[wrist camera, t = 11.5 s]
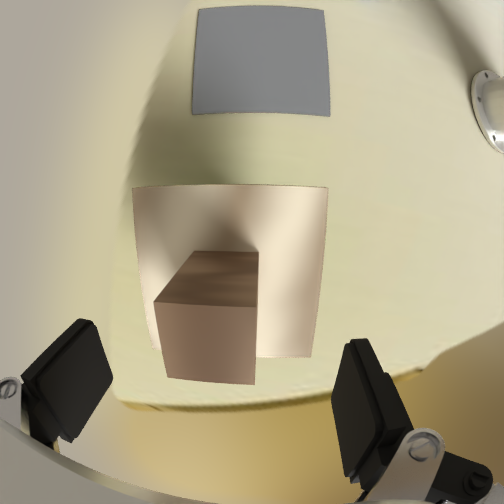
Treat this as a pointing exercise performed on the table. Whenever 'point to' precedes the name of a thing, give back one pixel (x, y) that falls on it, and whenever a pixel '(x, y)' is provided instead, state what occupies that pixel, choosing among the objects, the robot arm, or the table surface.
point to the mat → (261, 61)
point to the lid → (229, 274)
